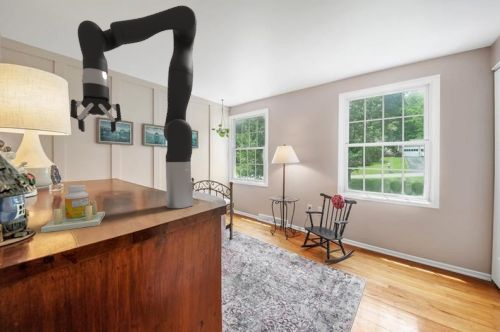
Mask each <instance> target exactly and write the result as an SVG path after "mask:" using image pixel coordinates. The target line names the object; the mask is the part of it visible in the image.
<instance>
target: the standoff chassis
mask: <svg viewBox="0 0 500 332" xmlns="http://www.w3.org/2000/svg"><path fill="white" fill-rule="evenodd" d="M97 208H98V207H97V201H96V200H94V201H89V206H85V217H86V219H82V220H77V221H67V220H66V216H65V203H62V204H61V208H54V209H53V219H52V220H50V221H49V222H48V223H46V224H45V225H43V226H42V227H41V228H40V230H41V232H40V233H50V232H57V231H65V230H67V231H68V230H73V229H81V228H89V227H95V226H100V225H101V223H102V221H103V219H104V217H105V216H106V211H98V209H97Z"/></svg>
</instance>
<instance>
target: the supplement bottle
mask: <svg viewBox="0 0 500 332" xmlns="http://www.w3.org/2000/svg"><path fill="white" fill-rule="evenodd" d="M85 190H86V185H85V184H74V185H73V184H72V185H68V186H67V192H68V193H66V194H65V195H64V204H65V216H66V220H67V221H77V220H82V219H86V217H85V206H90V201H89V193H88V192H87V191H85Z"/></svg>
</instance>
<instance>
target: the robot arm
mask: <svg viewBox="0 0 500 332" xmlns="http://www.w3.org/2000/svg"><path fill="white" fill-rule="evenodd" d="M197 19H198V18H197V15H196V13H195V11H194V10H193V9H192V8H190V7H189V6H187V5H177V6H174V7H170V8H168V9H165V10H162V11H158V12H155V13H152V14H150V15H149V14H148V15H146V16H142V17H137V18H131V19H124V20H119V21H112V22H111V23H110V25H109V29H105V30H103V29H102V28H101V26H99V24H97V23H96V22H94V21H92V20H87V19H86V20H83V21H81V22H80V23H79V25H78V27H77V39H78V43H79V47H80V51H81V55H82V75H81V77H82V79H81V82H82V101H81V100H75V99H74V98H73V99H70V117H71V118H72V119H75V120H77V124H78V126H77V128H78V130H79V131H80V132H82V133H85V132H86V128H85V126H86V125H85V119H86V118H88V116H90V114H91V115H93V116H101V117H102V116H106V117H107V118H108V119H109V120H110V133H111V134H114V133H115V132H116V131H117V126H116V125H117V123H118V122H122V112H121V111H122V110H121V105H120V104H119V103H115V104H113V103H111V101H110V98H111V97H110V80H109V79H110V78H109V71H108V70H109V68H108V60H107V58H106V56H105V53H107V52H110V51H112V50H115V49H117V48H120V47H121V46H123V45H124V46H125V45H130V44H132V45H133V44H136V43H141V42H144V41H147V40H148V39H150V38H152V37H153V36H155V35H157V34H159V33H162V32H165V31H171V30H172V37H173V38H172V39H173V40H172V41H173V47H172V48H173V51H172V55H171V57H170V61H169V66H168V70H167V71H168V73H167V74H168V75H167V99H166V100H167V105H166V106H167V108H166V109H167V110H166V115H165V120H164V121H165V122H164V126H163V137H164V139H165V140H166V153H165V181H166V183H165V185H166V187H165V188H166V192H165V193H166V207H167V208H168V209H184V208H188V207H193V206H194V195H193V193H194V187H193V184H194V183H193V181H192V165H191V164H192V163H191V162H192V159H191V158H192V155H193V130H192V127H191V124H190V123H188V121H187V109H188V106H189V102H190V98H191V96H192V91H193V82H194V62H193V49H194V46H195V45H194V44H195V43H194V42H195V39H196V33H197V25H198V24H197V22H198V20H197ZM80 106H82V107H83V108H84V109H83V110H82V111H81V113H80V114H79V115H78V108H80ZM112 108H113V110H114V111H116V112H115V113H116V117H114V116H112V114H111V112H109V111H110V110H111V109H112Z"/></svg>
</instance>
